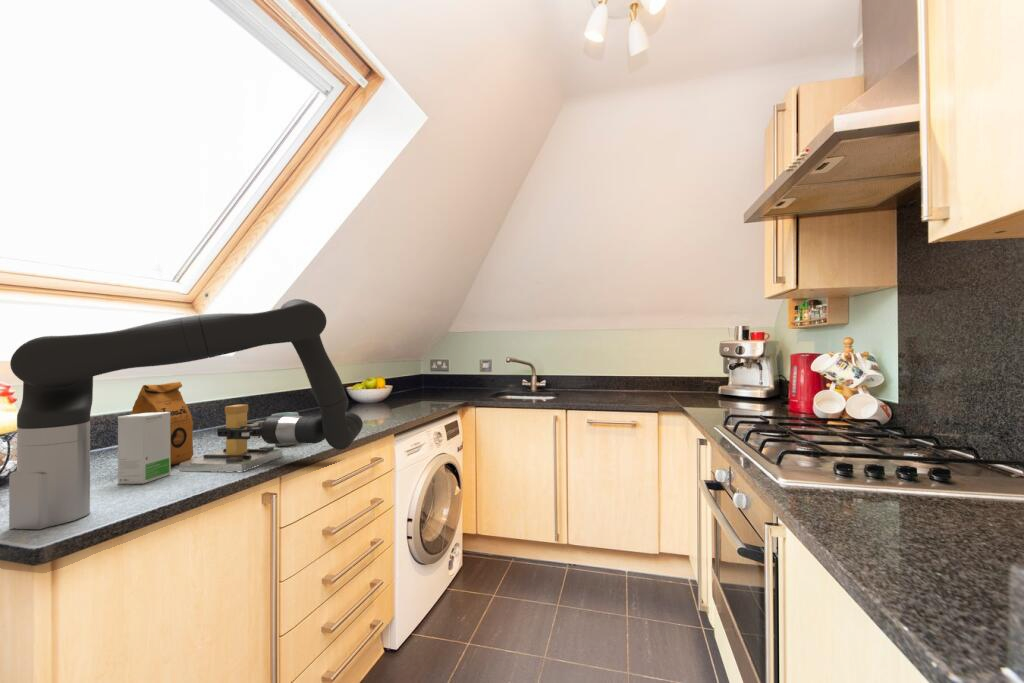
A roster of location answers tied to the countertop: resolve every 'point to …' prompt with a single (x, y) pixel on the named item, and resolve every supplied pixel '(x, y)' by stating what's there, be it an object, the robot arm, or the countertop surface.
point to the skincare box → (143, 447)
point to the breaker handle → (236, 418)
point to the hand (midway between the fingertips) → (230, 429)
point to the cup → (286, 415)
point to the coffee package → (180, 416)
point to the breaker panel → (231, 460)
